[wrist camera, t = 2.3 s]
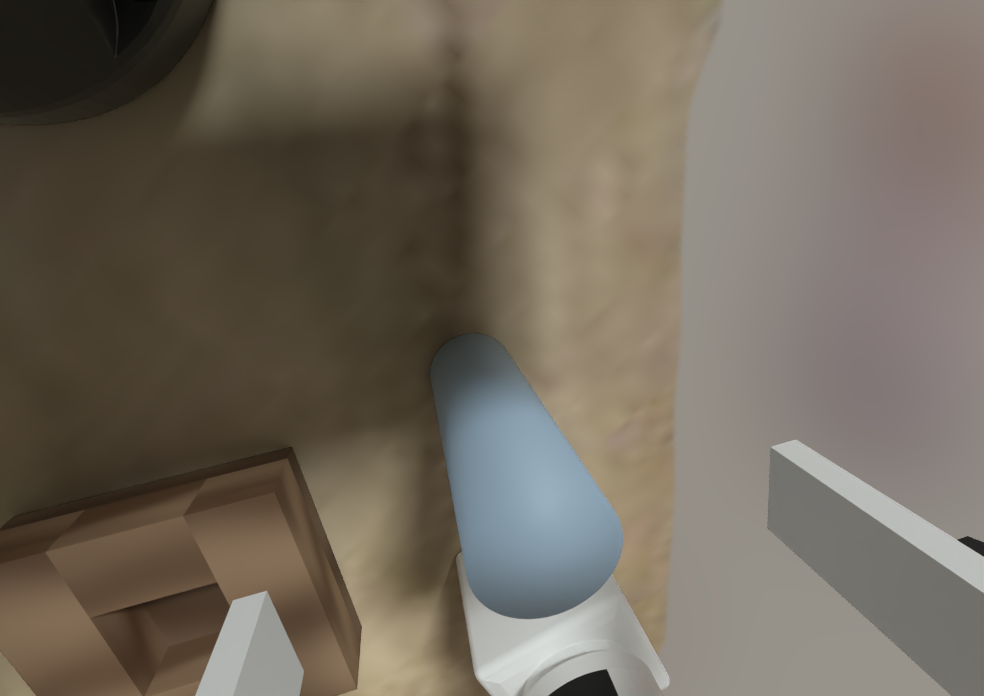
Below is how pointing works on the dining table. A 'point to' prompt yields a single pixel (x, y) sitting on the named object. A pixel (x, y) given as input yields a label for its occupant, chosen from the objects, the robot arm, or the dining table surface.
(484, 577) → the pin
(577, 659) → the medicine bottle
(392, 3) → the dining table surface
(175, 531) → the socket block
